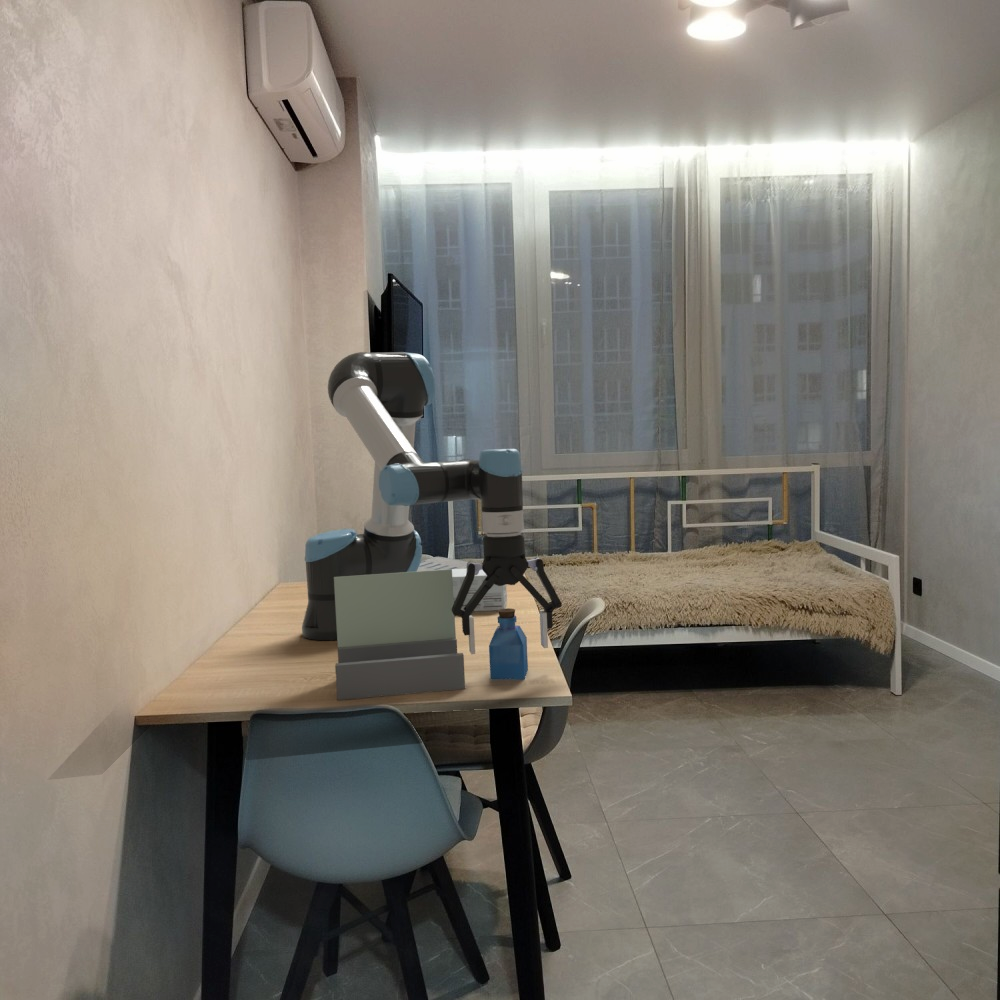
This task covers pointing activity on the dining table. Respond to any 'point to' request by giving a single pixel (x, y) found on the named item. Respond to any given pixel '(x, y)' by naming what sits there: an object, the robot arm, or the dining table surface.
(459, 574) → the supplement box
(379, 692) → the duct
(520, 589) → the dining table surface
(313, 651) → the dining table surface
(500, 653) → the perfume bottle
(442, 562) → the warehouse
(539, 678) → the dining table surface
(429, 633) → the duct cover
